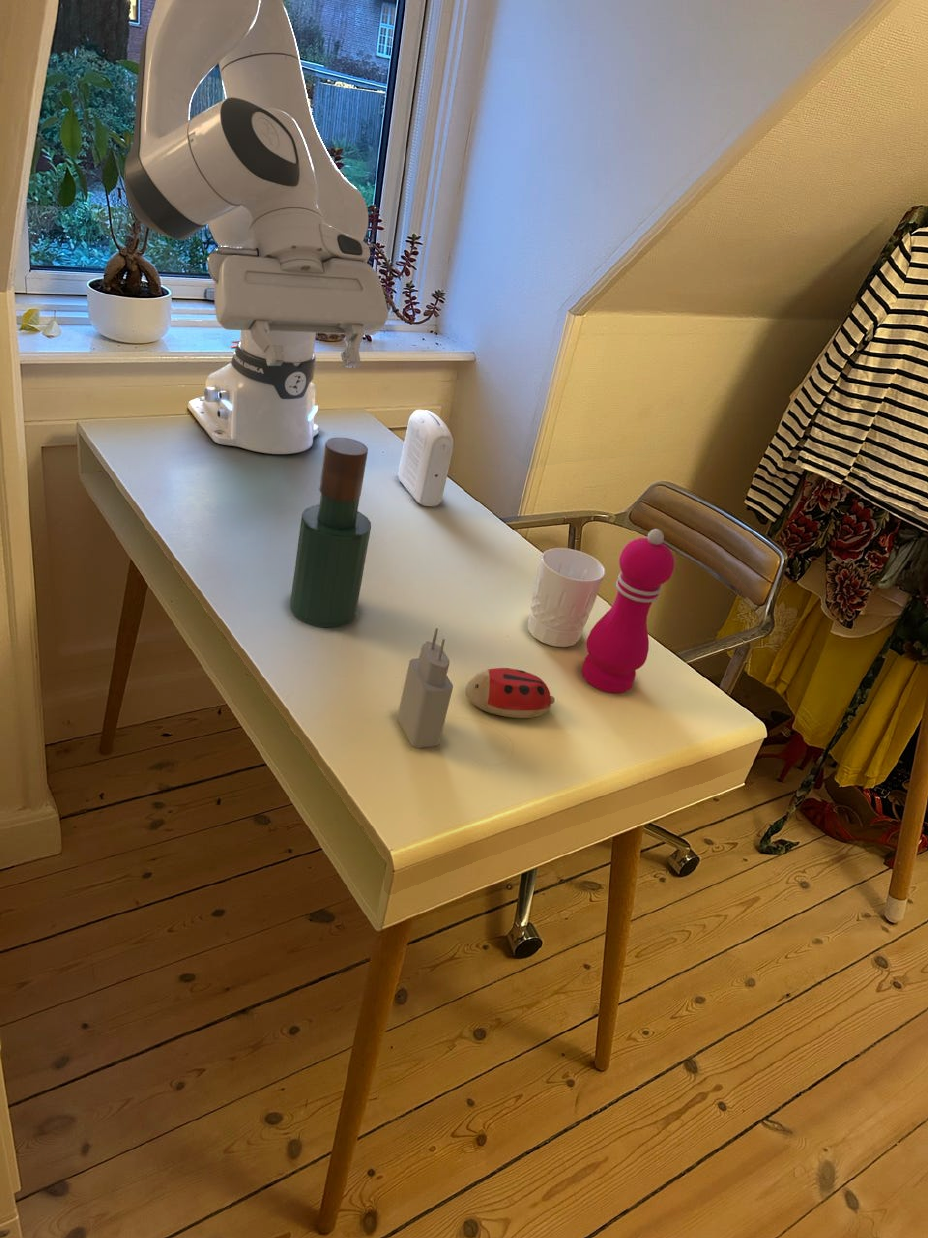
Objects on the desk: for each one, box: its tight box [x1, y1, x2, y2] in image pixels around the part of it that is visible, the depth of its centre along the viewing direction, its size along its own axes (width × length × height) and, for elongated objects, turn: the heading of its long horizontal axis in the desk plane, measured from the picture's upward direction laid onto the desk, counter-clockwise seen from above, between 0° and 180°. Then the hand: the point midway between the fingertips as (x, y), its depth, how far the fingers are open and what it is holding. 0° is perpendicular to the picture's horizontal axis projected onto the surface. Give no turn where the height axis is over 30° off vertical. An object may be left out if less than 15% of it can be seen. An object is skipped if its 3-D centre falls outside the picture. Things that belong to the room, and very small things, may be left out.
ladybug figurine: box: [464, 667, 555, 719], centre depth 106 cm, size 7×10×4 cm
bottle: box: [289, 493, 372, 629], centre depth 111 cm, size 8×8×16 cm
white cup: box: [527, 547, 606, 648], centre depth 119 cm, size 8×8×10 cm
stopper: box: [318, 437, 369, 502], centre depth 106 cm, size 5×5×8 cm
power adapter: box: [397, 627, 454, 749], centre depth 97 cm, size 3×5×12 cm, turn 23°
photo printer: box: [397, 409, 454, 507], centre depth 146 cm, size 10×4×12 cm, turn 25°
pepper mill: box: [581, 528, 675, 694], centre depth 110 cm, size 7×7×20 cm
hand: (315, 364), depth 111 cm, fingers open, 8 cm apart
